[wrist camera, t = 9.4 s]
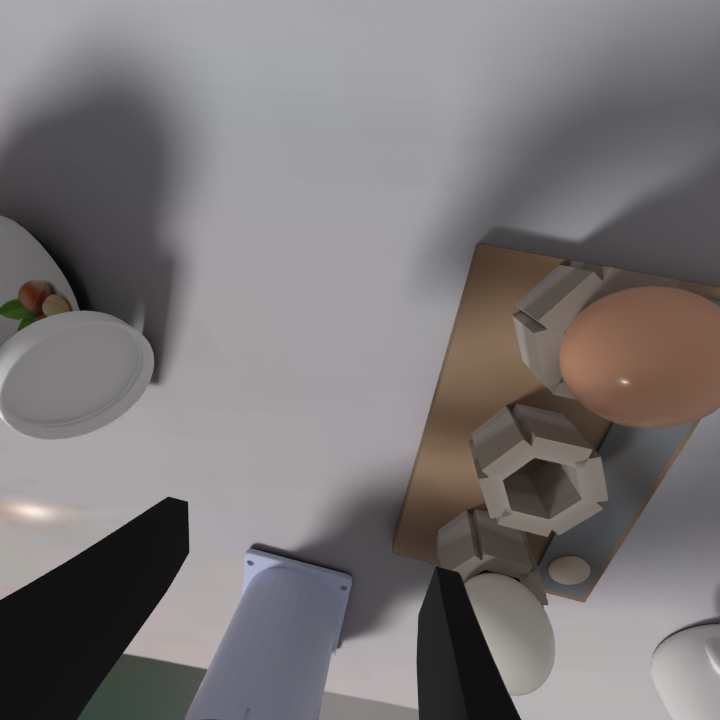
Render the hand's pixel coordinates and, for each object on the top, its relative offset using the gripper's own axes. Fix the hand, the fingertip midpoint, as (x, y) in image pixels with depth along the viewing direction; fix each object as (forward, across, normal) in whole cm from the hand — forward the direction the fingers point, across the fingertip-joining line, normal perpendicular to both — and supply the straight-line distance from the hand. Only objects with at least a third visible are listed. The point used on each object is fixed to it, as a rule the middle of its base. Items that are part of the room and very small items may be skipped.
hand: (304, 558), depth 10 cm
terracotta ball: (+5, -9, -6) cm, 12 cm away
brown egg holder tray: (+10, -10, 0) cm, 14 cm away
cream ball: (+5, -9, +8) cm, 13 cm away
